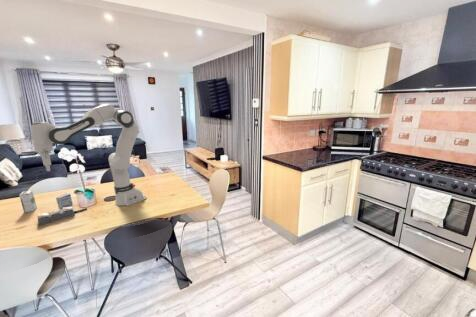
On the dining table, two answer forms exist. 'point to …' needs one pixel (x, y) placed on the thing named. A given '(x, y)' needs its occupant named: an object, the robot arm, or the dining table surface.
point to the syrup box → (28, 201)
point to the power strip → (57, 216)
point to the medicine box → (64, 201)
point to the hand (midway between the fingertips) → (48, 169)
